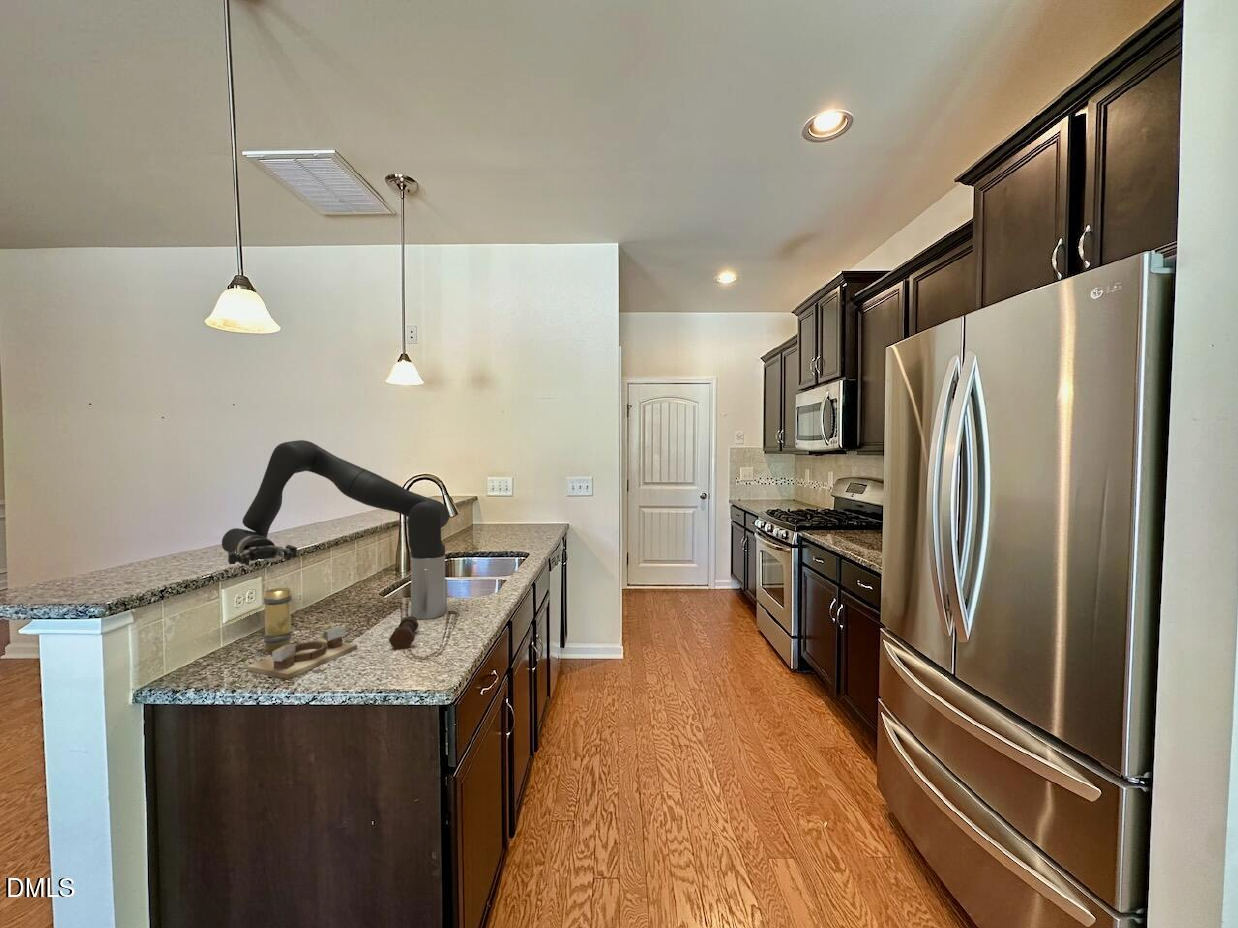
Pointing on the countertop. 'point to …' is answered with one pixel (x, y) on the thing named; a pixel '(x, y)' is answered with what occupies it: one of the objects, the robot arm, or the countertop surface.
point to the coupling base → (300, 665)
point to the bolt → (404, 633)
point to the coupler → (277, 618)
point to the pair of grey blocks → (289, 649)
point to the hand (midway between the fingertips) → (268, 558)
